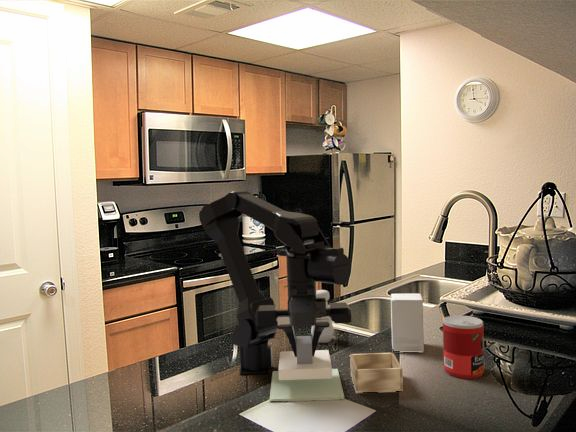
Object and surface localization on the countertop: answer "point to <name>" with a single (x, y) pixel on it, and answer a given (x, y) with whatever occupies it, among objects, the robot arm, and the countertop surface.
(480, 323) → the canned food
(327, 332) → the salt shaker
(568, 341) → the countertop surface
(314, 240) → the robot arm
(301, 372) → the lid
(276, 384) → the mat
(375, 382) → the box
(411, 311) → the supplement box
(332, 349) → the countertop surface
